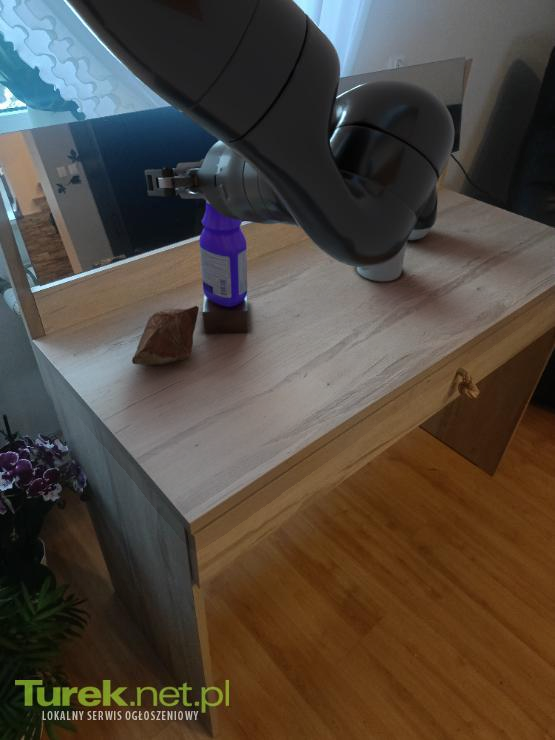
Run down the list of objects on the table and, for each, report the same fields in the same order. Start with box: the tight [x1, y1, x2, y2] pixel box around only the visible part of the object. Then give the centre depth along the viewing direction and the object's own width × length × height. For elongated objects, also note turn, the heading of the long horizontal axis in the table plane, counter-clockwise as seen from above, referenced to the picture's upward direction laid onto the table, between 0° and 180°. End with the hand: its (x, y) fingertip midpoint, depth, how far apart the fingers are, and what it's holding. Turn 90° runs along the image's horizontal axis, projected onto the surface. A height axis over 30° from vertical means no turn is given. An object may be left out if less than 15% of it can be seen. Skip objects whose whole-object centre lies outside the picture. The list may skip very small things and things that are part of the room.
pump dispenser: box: [407, 184, 438, 241], centre depth 104 cm, size 10×10×15 cm
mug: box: [356, 241, 408, 282], centre depth 91 cm, size 12×8×11 cm
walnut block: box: [202, 293, 249, 334], centre depth 81 cm, size 7×8×4 cm
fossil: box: [131, 305, 200, 366], centre depth 73 cm, size 13×8×10 cm
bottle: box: [198, 200, 248, 307], centre depth 74 cm, size 7×6×17 cm
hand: (196, 178), depth 57 cm, fingers open, 8 cm apart
